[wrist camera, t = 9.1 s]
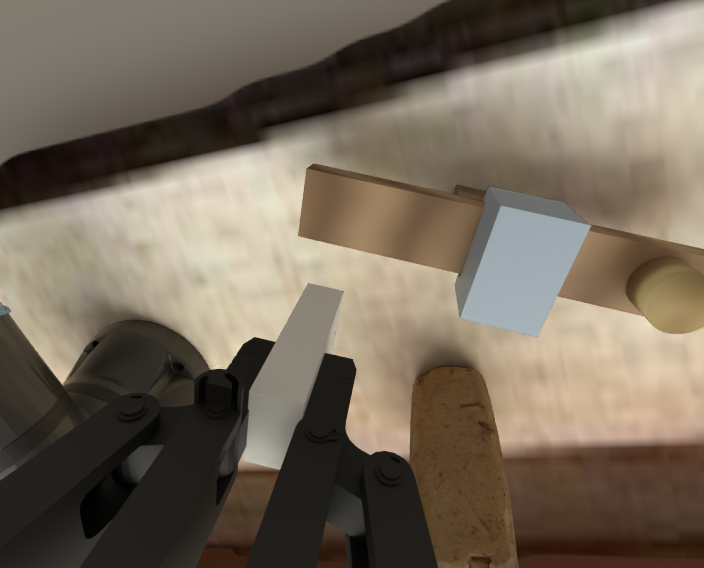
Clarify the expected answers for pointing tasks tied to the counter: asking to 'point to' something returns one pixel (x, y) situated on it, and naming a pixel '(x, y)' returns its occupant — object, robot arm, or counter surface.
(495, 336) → the counter surface
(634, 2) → the counter surface
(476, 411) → the block
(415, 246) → the beam
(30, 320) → the counter surface
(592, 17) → the counter surface
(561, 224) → the rider
